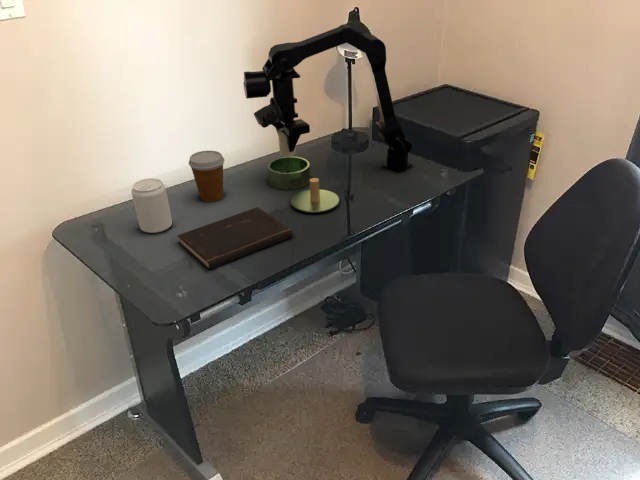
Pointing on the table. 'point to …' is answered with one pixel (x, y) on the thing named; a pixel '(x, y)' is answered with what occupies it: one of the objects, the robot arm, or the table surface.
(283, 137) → the candle
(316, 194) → the lid
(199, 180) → the disposable coffee cup
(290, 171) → the tin
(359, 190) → the table surface
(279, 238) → the hardcover book
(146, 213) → the beverage can
